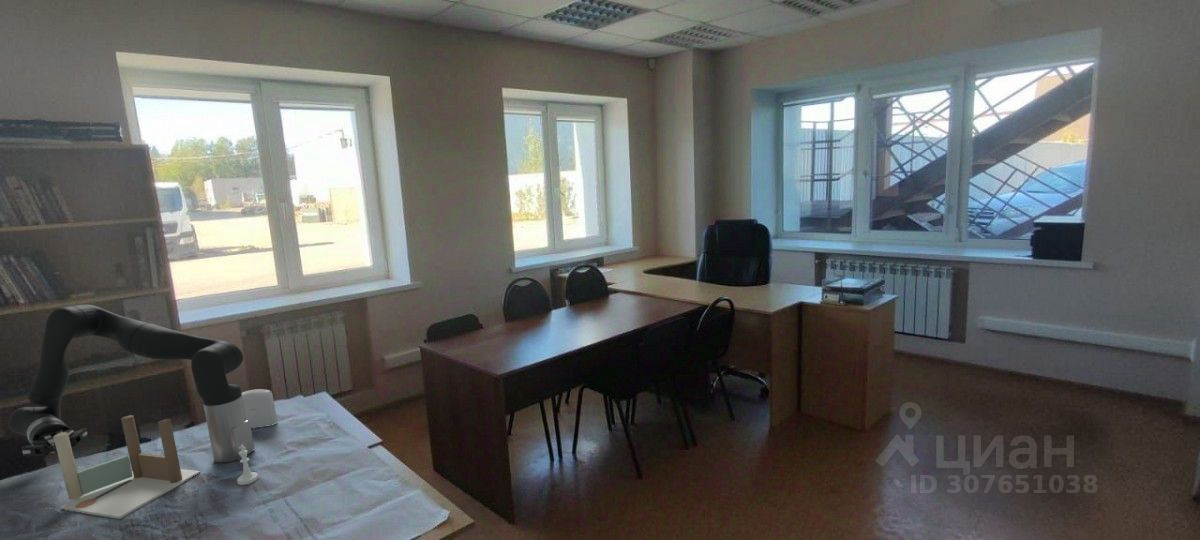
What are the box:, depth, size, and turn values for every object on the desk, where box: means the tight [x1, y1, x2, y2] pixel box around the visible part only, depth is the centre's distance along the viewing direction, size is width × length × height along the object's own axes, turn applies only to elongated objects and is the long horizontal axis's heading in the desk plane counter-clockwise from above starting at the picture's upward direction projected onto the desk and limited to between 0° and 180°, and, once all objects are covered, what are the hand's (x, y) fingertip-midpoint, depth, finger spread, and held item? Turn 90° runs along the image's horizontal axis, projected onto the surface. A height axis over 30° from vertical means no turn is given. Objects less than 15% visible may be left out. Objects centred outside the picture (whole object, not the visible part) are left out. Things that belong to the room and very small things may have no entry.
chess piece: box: [236, 445, 260, 486], centre depth 148 cm, size 5×5×10 cm
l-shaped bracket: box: [54, 432, 133, 501], centre depth 144 cm, size 13×3×17 cm, turn 142°
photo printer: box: [241, 388, 278, 429], centre depth 180 cm, size 10×4×12 cm, turn 100°
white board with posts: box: [60, 414, 201, 520], centre depth 144 cm, size 20×20×18 cm
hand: (63, 450), depth 141 cm, fingers closed
